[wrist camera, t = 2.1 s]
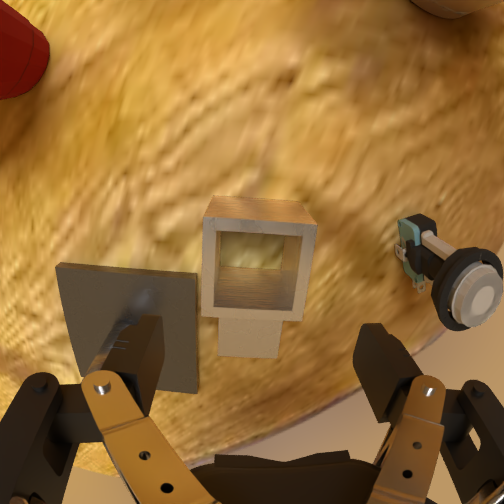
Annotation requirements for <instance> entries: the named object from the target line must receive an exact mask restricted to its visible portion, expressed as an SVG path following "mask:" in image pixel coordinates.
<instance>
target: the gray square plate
mask: <svg viewBox="0 0 504 504" xmlns="http://www.w3.org/2000/svg"><path fill="white" fill-rule="evenodd" d="M55 269H56V275H57V281H58V287H59V292H60V297H61V302H62V307H63V311H64V316H65V320H66V324H67V328H68V332H69V336H70V340H71V344H72V348H73V351H74V355H75V358H76V362H77V365H78V368H79V372H80V375H81V377H84V378H85V377H86V376H87V375H89V374H90V373H92V372H95V371H100V369H101V367H102V365H103V363H104V361H105V360H106V358H107V356H108V354H109V352H110V350H111V348H113V345H114V343H115V341H116V339H117V337H118V335H119V333H120V332H121V331H122V330H123V329H125V328H126V327H127V326H129V325H136V326H137V324H138V322H139V320H140V318H141V316H142V314H151V315H161V316H162V319H163V331H164V343H165V358H164V363H163V366H162V370H161V373H160V377H159V380H158V384H157V387H156V390H163V391H171V392H181V393H191V394H197V393H198V357H197V273H185V272H171V271H157V270H144V269H132V268H119V267H108V266H96V265H85V264H74V263H63V262H60V263H59V264H58V265H57V266H56V267H55ZM84 378H83V379H84ZM82 381H83V380H82ZM81 383H82V382H81Z"/></svg>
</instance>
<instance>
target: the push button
mask: <svg viewBox="0 0 504 504" xmlns="http://www.w3.org/2000/svg"><path fill="white" fill-rule="evenodd" d="M398 227H399V232H400V240H401V247H400V246H398V245H397V244H395V252H396V256H397V257H398V258H399V259H401V260H402V261H403V268H404V271H405V273H406V274H407V275H408V276H410V277H411V279H412V282H413V288H414V289H415V288H417V290H418V293H421V292H424V291H425V290H426V285H425V282H427V283H430V284H431V285H432V291H431V297H432V300H433V303H434V305H435V308H436V311H437V314H438V317H439V319H440V321H441V322H442V323H443V325H444V326H445V327H446V328H448V329H450V330H453V331H463V330H466V329H469V328H471V327H476V326H478V325H481V324H482V323H484V322H486V321H487V320H488V318H490V317H491V316H492V314H493V313H494V312H495V310H496V308H497V307H498V305H499V303H500V300H501V296H502V293H503V269H502V264H501V261H500V260H499V258H498V257H497V256H496V255H495V254H494V253H492V252H491V251H489V250H487V249H479V248H477V247H471V248H463V249H458V250H457V249H455V248H454V247H452V246H451V245H449V244H447V243H446V242H444V241H443V240H441V239H439V238H438V237H437V228H436V223H435V221H434V220H432V219H430V218H428V217H426V216H424V215H422V214H417V215H413V216H410V217H407V218H404V219H400V220H398ZM397 249H398V250H399V253H398V250H397ZM481 260H482V262H483V264H482V263H480V262H479V261H481ZM415 283H417V284H415ZM421 285H423V288H422V289H420V286H421ZM448 309H449V310H450V311H448Z"/></svg>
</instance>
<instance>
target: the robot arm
mask: <svg viewBox="0 0 504 504" xmlns="http://www.w3.org/2000/svg"><path fill="white" fill-rule="evenodd" d="M411 1H412V2H413V3H414V4H416V5H417V6H419V7H420V8H422V9H423V10H425V11H427V12H429V13H431V14H433V15H436V16H439V17H441V18H447V19H454V18H459V17H462V16H464V15H467V14H469V13H472V12H475V11H477V10H480V9H483V8H486V7H489V6H492V5H495V4H498V3H501V2H504V0H411ZM164 358H165V343H164V331H163V319H162V316H161V315H151V314H142V316H141V318H140V320H139V322H138V324H137V326H136V325H129V326H127V327H126V328H125V329H123V330H122V331H121V332H120V333H119V335H118V337H117V339H116V341H115V343H114V345H113V348H111V350H110V352H109V354H108V356H107V358H106V360H105V361H104V363H103V365H102V367H101V369H100V371H95V372H92V373H90V374H89V375H87V376H86V377H85V378H84V379H83V381H82V383H81V384H66V385H60V384H59V382H58V379H57V378H56V377H55V376H54V375H52V374H50V373H46V372H40V373H35V374H33V375H31V376H29V377H28V378H27V379H26V380H25V381H24V382H23V384H22V386H21V387H20V389H19V390H18V392H17V394H16V395H15V397H14V399H13V401H12V402H11V404H10V406H9V407H8V409H7V411H6V413H5V415H4V416H3V418H2V420H1V422H0V504H62V500H63V497H64V493H65V490H66V486H67V483H68V479H69V476H70V472H71V469H72V466H73V463H74V459H75V456H76V453H77V450H78V447H79V444H80V443H90V442H103V445H104V447H105V449H106V451H107V453H108V454H109V456H110V458H111V460H112V462H113V464H114V466H115V468H116V470H117V471H118V473H119V475H120V477H121V479H122V480H123V482H124V484H125V486H126V488H127V489H128V491H129V493H130V495H131V496H132V498H133V499H134V501H135V503H136V504H437V503H435V502H434V501H432V500H430V499H429V498H427V494H428V490H429V487H430V484H431V480H432V477H433V474H434V470H435V466H436V463H437V459H438V455H439V451H440V453H441V455H442V457H443V460H444V462H445V464H446V466H447V468H448V471H449V473H450V476H451V478H452V480H453V483H454V485H455V488H456V490H457V493H458V495H459V498H460V500H461V503H462V504H504V408H503V406H502V405H501V403H500V402H499V400H498V399H497V398H496V396H495V395H494V394H493V392H492V391H491V389H490V388H489V387H488V386H487V385H486V384H485V383H483V382H480V381H478V380H469V381H467V382H465V384H464V385H463V387H462V389H461V390H451V389H446V388H445V386H444V384H443V383H442V382H441V381H440V380H438V379H437V378H435V377H432V376H429V375H424V374H423V373H422V371H421V370H420V369H419V367H418V366H417V364H416V363H415V361H414V360H413V358H412V357H411V356H410V354H409V353H408V351H407V350H406V348H405V347H404V345H403V344H402V343H401V341H400V340H398V339H397V338H396V337H394V336H393V335H392V334H388V332H387V331H386V329H385V328H384V327H383V325H382V324H381V323H365V324H363V325H362V326H361V329H360V332H359V336H358V339H357V343H356V346H355V350H354V353H353V367H354V369H355V372H356V374H357V376H358V378H359V380H360V383H361V385H362V387H363V389H364V391H365V394H366V396H367V398H368V401H369V403H370V405H371V407H372V409H373V412H374V414H375V416H376V419H377V421H378V423H384V422H390V424H391V426H390V428H389V429H388V431H387V434H386V436H385V438H384V441H383V443H382V445H381V447H380V449H379V452H378V454H377V456H376V458H375V460H374V462H373V464H371V463H368V462H365V461H361V460H356V459H350V456H349V452H348V450H344V451H335V452H325V453H317V454H313V455H310V456H306V457H303V458H299V459H296V460H292V461H287V462H280V461H274V460H268V459H263V458H258V457H253V456H247V455H244V456H243V455H219V454H215V460H214V463H212V464H207V465H203V466H199V467H196V468H193V469H191V470H189V469H188V468H187V466H186V465H185V464H184V463H183V461H182V460H181V459H180V457H179V456H178V455H177V453H176V452H175V451H174V449H173V448H172V447H171V445H170V444H169V443H168V441H167V440H166V439H165V437H164V436H163V434H162V433H161V432H160V430H159V429H158V427H157V426H156V424H155V423H154V421H153V420H152V419H151V418H150V417H149V412H150V408H151V405H152V401H153V398H154V394H155V391H156V387H157V384H158V380H159V377H160V373H161V370H162V366H163V363H164ZM473 427H474V429H475V431H476V432H477V434H478V436H479V438H480V441H481V445H480V449H479V451H478V450H477V448H476V446H475V445H474V443H473V441H472V439H471V437H470V435H469V432H470V431H471V429H472V428H473Z"/></svg>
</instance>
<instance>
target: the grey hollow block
mask: <svg viewBox="0 0 504 504" xmlns="http://www.w3.org/2000/svg"><path fill="white" fill-rule="evenodd" d="M221 231H233V232H249V233H264V234H278V235H285V239H284V248H283V256H282V265H281V270H272V269H255V268H239V267H223V266H220V248H221ZM316 232H317V223H316V222H315V221H314V220H313V218H312V217H311V216H310V215H309V214H308V212H307V211H306V210H305V209H304V208H303V206H302V205H301V204H300V203H299V202H296V201H285V200H273V199H259V198H245V197H230V196H213V197H212V199H211V201H210V203H209V206H208V208H207V210H206V212H205V214H204V216H203V241H202V291H201V316H204V317H218V318H219V326H218V356H228V357H248V358H277V356H278V350H279V344H280V337H281V331H282V324H283V321H302V318H303V313H304V307H305V302H306V296H307V290H308V284H309V278H310V272H311V265H312V259H313V253H314V246H315V239H316Z"/></svg>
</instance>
